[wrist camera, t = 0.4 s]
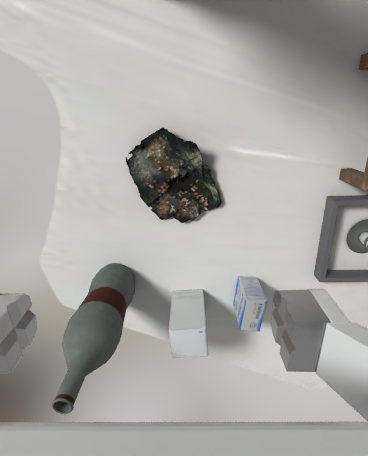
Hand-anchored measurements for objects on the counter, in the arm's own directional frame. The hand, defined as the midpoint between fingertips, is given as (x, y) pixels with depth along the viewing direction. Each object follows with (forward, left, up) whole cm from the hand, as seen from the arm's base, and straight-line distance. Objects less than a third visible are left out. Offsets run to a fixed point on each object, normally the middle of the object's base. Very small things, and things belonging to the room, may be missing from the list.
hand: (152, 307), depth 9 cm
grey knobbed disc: (+19, +37, -46) cm, 63 cm away
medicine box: (+32, +13, -47) cm, 58 cm away
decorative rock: (+6, -2, -47) cm, 47 cm away
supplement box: (+35, 0, -47) cm, 58 cm away
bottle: (+28, -16, -47) cm, 57 cm away
